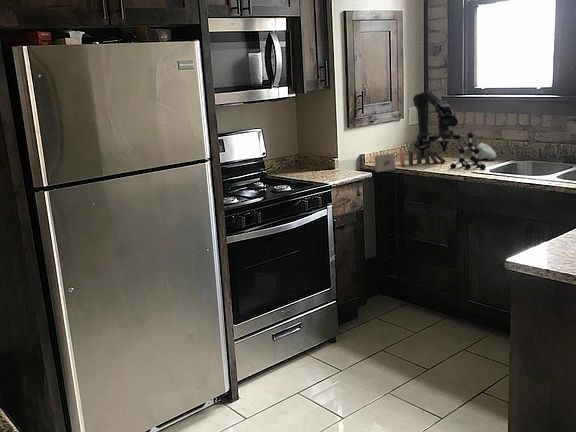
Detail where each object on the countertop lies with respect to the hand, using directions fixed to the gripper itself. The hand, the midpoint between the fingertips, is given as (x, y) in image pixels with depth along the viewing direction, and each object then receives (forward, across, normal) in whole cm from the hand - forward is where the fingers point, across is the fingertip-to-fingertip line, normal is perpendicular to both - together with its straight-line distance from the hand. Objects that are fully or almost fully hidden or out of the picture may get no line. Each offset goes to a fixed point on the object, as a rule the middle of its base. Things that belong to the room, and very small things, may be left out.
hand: (443, 151), depth 374 cm
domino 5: (+6, -5, 0) cm, 8 cm away
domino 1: (+6, -24, 0) cm, 25 cm away
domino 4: (+6, -10, 0) cm, 11 cm away
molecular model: (+7, +12, -19) cm, 23 cm away
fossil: (+7, -37, -14) cm, 40 cm away
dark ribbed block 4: (+6, -14, 0) cm, 16 cm away
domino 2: (+6, -20, 0) cm, 21 cm away
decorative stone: (+7, +25, +2) cm, 26 cm away
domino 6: (+6, 0, 0) cm, 6 cm away
